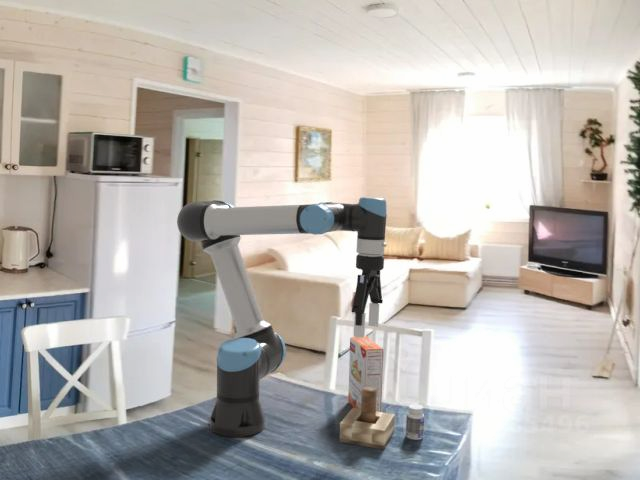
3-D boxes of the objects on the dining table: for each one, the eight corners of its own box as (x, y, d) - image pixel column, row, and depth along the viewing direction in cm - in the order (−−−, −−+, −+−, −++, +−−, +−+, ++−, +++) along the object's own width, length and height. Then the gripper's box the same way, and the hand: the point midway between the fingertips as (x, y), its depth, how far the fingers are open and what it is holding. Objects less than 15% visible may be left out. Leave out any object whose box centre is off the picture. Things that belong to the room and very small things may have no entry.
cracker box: (346, 402, 185) (349, 336, 183) (364, 400, 187) (367, 335, 185) (362, 419, 172) (365, 349, 170) (381, 418, 173) (384, 348, 171)
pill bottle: (422, 441, 159) (424, 410, 158) (405, 439, 160) (406, 408, 159) (423, 433, 163) (425, 404, 163) (406, 431, 164) (407, 402, 163)
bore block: (339, 441, 157) (340, 423, 156) (352, 424, 168) (353, 407, 168) (383, 449, 153) (384, 430, 152) (394, 431, 164) (394, 414, 164)
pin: (358, 434, 159) (360, 390, 158) (362, 428, 163) (364, 386, 162) (372, 436, 158) (374, 393, 157) (376, 431, 162) (378, 388, 160)
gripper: (370, 260, 148) (366, 344, 150) (395, 251, 171) (391, 323, 173) (342, 258, 151) (338, 340, 153) (370, 249, 174) (366, 320, 176)
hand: (366, 331), depth 163 cm, fingers open, 13 cm apart
